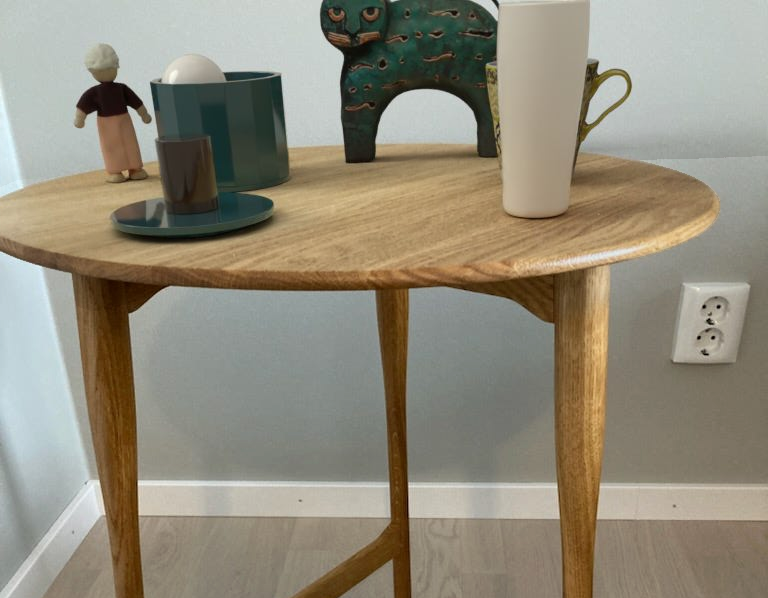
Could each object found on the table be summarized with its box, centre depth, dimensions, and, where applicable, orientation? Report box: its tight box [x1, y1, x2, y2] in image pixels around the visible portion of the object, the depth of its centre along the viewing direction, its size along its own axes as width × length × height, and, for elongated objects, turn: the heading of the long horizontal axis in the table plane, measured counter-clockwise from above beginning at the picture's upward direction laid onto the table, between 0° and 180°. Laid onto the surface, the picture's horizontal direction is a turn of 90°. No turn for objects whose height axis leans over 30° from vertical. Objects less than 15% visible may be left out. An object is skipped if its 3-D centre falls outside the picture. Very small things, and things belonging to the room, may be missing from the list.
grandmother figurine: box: [73, 42, 153, 183], centre depth 92 cm, size 8×4×13 cm, turn 130°
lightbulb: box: [161, 53, 227, 83], centre depth 89 cm, size 6×6×11 cm
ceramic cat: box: [319, 0, 500, 164], centre depth 95 cm, size 20×6×20 cm, turn 88°
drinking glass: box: [497, 0, 591, 219], centre depth 70 cm, size 7×7×15 cm
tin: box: [149, 70, 291, 193], centre depth 90 cm, size 12×12×10 cm
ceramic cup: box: [486, 57, 633, 182], centre depth 83 cm, size 13×10×10 cm
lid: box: [109, 133, 276, 239], centre depth 74 cm, size 13×13×7 cm
